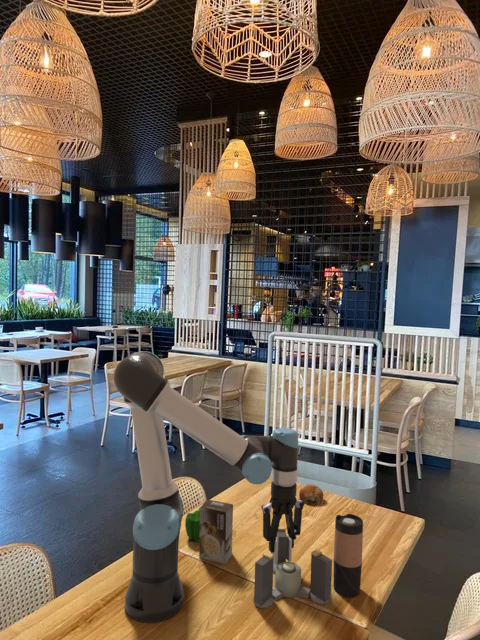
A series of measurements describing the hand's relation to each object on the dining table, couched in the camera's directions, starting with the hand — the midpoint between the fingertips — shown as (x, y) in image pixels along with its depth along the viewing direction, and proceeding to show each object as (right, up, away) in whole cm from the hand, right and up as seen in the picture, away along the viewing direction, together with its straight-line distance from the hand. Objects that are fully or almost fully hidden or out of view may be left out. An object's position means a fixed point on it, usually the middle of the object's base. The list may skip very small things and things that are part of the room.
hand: (280, 560), depth 131 cm
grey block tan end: (0, -3, +1) cm, 3 cm away
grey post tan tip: (+10, -4, -12) cm, 16 cm away
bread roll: (+17, -3, +51) cm, 54 cm away
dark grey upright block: (-6, -3, -14) cm, 16 cm away
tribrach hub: (+1, -4, -8) cm, 9 cm away
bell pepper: (-26, -2, +18) cm, 32 cm away
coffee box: (-20, -3, +8) cm, 21 cm away
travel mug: (+18, -4, -7) cm, 20 cm away
